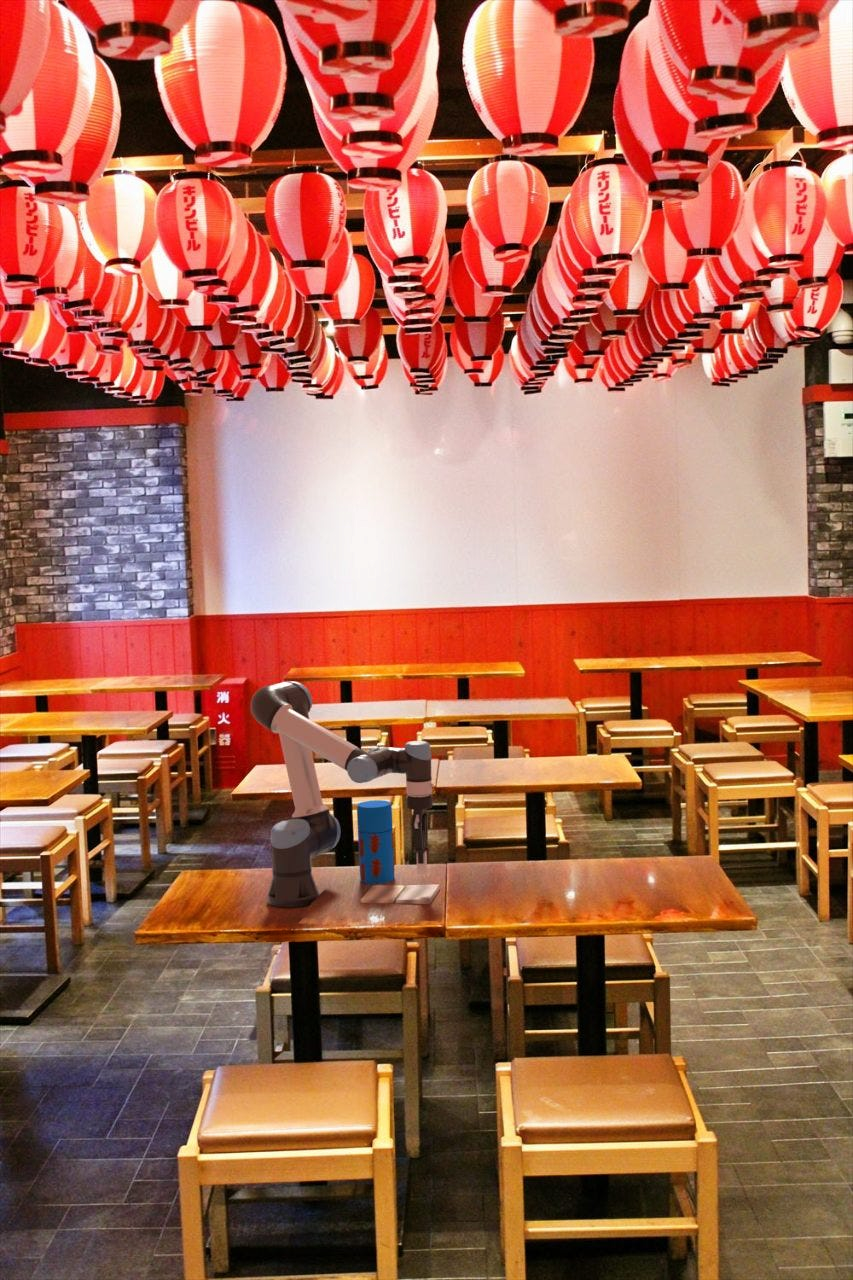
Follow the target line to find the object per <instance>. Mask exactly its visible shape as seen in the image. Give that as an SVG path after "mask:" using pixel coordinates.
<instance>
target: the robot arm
mask: <svg viewBox="0 0 853 1280" xmlns="http://www.w3.org/2000/svg"><path fill="white" fill-rule="evenodd" d="M312 707H313V697H312V694H311V692H310V690H309V689H308V688H307V687H306V686H305V685H304V684H302V683H300V682H298V681H282V682H280V683H279V682H278V683H274V684H271V685H266V686H262V687H260V688H259V689H258V690H256V691H255V693H253V695H252V697H251V700H250V707H249V708H250V712H251V715H252V717H253V718H254V720H256V722H257V723H258V724H259V725H260V726H262V727H264V728H265V729H267V730H268V731H270V732H272V733H274V734H278V736H279V740H280V745H281V750H282V754H283V759H284V764H285V768H286V772H287V777H288V781H289V786H290V791H291V794H292V795H291V796H292V800H293V804H294V812H293V814H292V815H291V818H290V819H287V820H282V821H280V822H277V823H275V824H274V825H273V827H271V829H270V839H269V842H270V851H271V853H270V855H271V869H272V877H271V878H272V879H271V882H270V886H269V889H268V893H267V903H268V905H270V906H272V905H273V906H272V907H275V906H276V907H275V908H283V907H285V908H287V909H289V908H298V907H299V908H300V907H306V906H309V905H312V903H314V901H316V900H317V899H318V897H319V895H320V894H319V892H320V891H319V888H318V887H317V884H316V881H315V878H314V876H313V874H312V873H313V872H312V869H313V868H312V859H315V858H316V857H318V856H320V855H322V854H323V855H324V854H326V853H328V852H329V851H331V850H332V849H333V848H335V847H336V846H337V844H338V843H339V841H340V838H341V825H340V822H339V820H338V819H337V818H336V817H334V815H333V814H331V812H330V808H329V806H328V805H326V804H324V801H323V800H322V799H323V798H322V794H321V790H320V785H319V779H318V776H317V771H316V766H315V761H314V757H313V753H315V754H317V755H319V756H320V757H322V758H324V759H325V760H327V761H329V762H331V763H332V764H335V766H338V767H340V768H341V769H343V770H345V771H346V772H347V775H348V777H349V778H350V780H351V781H353V782H354V783H356V784H363V783H368V782H371V781H373V780H375V779H377V778H379V777H383V776H386V775H388V774H403V775H405V782H406V783H405V784H406V785H405V789H406V794H407V796H406V806H407V808H408V809H409V810H413V814H412V818H411V819H412V822H411V827H412V833H413V834H412V835H413V837H412V838H413V844H414V845H413V846H414V848H413V849H414V850H413V853H414V854H416V874H417V875H427V874H428V862H427V861H428V859H427V857H428V856H427V851H430V848H429V847H428V846H429V844H428V843H429V842H428V841H429V839H428V837H429V833H428V832H429V830H428V829H429V816H430V815H429V812H427V810H428V809H431V808H432V807H433V805H434V804H433V795H432V792H433V787H434V785H435V784H434V783H433V782H432V778H433V777H432V753H431V745H430V743H429V742H428V741H424V740H413V741H408V742H406V743H405V745H404V747H391V746H383V745H381V746H373V747H371V748H369V751H368V752H367V751H365V750H363V749H361V748H359V747H358V746H356V745H355V744H353V743H352V742H350V741H348V740H346V739H345V738H343V737H340V736H339V735H337V734H335V733H334V732H332V731H330V730H329V729H327V728H325V727H323V726H321V725H320V724H318V723H317V722H314V721H313V720H311V719H310V716H309V713H310V711H311V709H312Z"/></svg>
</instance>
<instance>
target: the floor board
mask: <svg viewBox="0 0 853 1280" xmlns="http://www.w3.org/2000/svg"><path fill="white" fill-rule="evenodd" d="M405 887H406V885H399V884H398V885H393V884H392V885H390V884H386V885H385V884H383V885H382V884H373V885H372V886H371V887H370V888H369V889H368V891H367V892H366V893H365V894H364V895H363V896H362V897H361V899H360V903H364V904H365V903H367V904H369V903H370V904H371V903H372V904H373V903H374V904H395V903H396V899H397V898H398V897H399V895H400V894H401V893H402V891H403V890H404V889H405Z"/></svg>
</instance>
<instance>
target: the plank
mask: <svg viewBox="0 0 853 1280" xmlns="http://www.w3.org/2000/svg"><path fill="white" fill-rule="evenodd" d="M440 889H441V886H440V884H436V883H435V884H412V885H411V884H407V885H405V889H404V890H403V891H402V893H401V894H400V895H399V897H398V898H397V899H396V901H395V903H396V904H409V905H410V904H412V905H413V904H414V905H415V904H418V905H430V904H431V903H432V901H433V900H434V899H435V897H436V896H437V894H438V893H439V891H440Z"/></svg>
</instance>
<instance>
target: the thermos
mask: <svg viewBox="0 0 853 1280" xmlns="http://www.w3.org/2000/svg"><path fill="white" fill-rule="evenodd" d="M356 818H357V821H356V823H357V837H358V838H357V840H358V862H359V878H360V881H361V882H362V883H365V884H370V885H372V884H373V885H381V884H386V883H390V882H392V881H394V880H395V855H394V854H395V853H394V852H395V851H394V832H393V831H394V829H393V808H392V802H390V801H388V800H380V799H379V800H376V799H375V800H367V801H361V802H359V803H357V805H356Z"/></svg>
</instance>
